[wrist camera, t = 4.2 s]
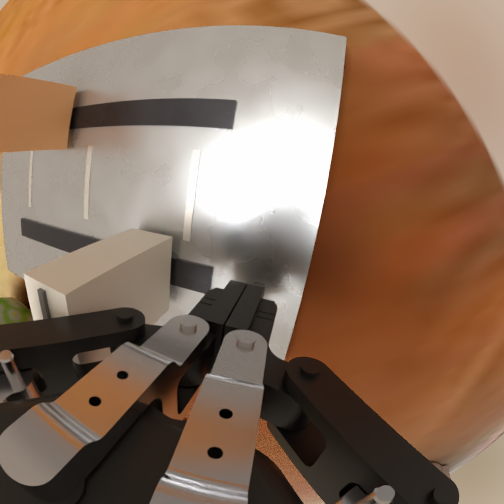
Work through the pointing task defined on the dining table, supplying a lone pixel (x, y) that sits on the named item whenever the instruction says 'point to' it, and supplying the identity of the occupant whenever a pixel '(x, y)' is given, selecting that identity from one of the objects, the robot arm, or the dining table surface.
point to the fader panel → (189, 159)
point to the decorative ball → (13, 311)
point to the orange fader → (34, 114)
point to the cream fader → (105, 281)
